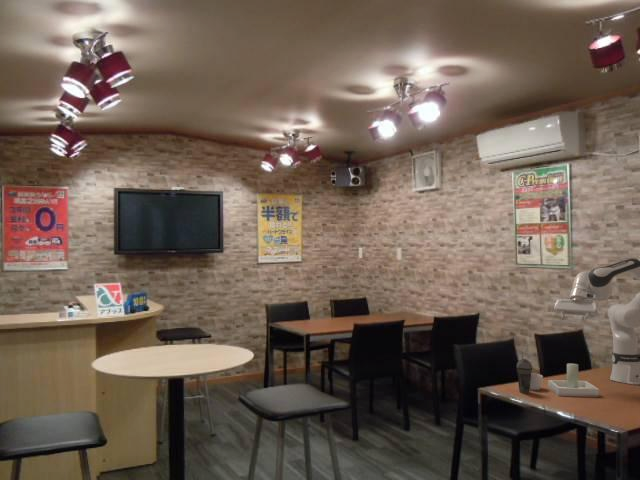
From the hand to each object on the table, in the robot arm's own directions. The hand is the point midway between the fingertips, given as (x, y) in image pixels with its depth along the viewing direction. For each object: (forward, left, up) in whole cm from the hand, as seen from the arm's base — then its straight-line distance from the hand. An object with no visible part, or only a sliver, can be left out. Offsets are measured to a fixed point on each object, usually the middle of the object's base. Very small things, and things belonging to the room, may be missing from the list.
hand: (573, 320), depth 269 cm
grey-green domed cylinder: (+3, +6, -32) cm, 33 cm away
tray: (+3, +6, -33) cm, 34 cm away
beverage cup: (+26, +9, -34) cm, 43 cm away
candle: (+20, +1, -34) cm, 39 cm away
